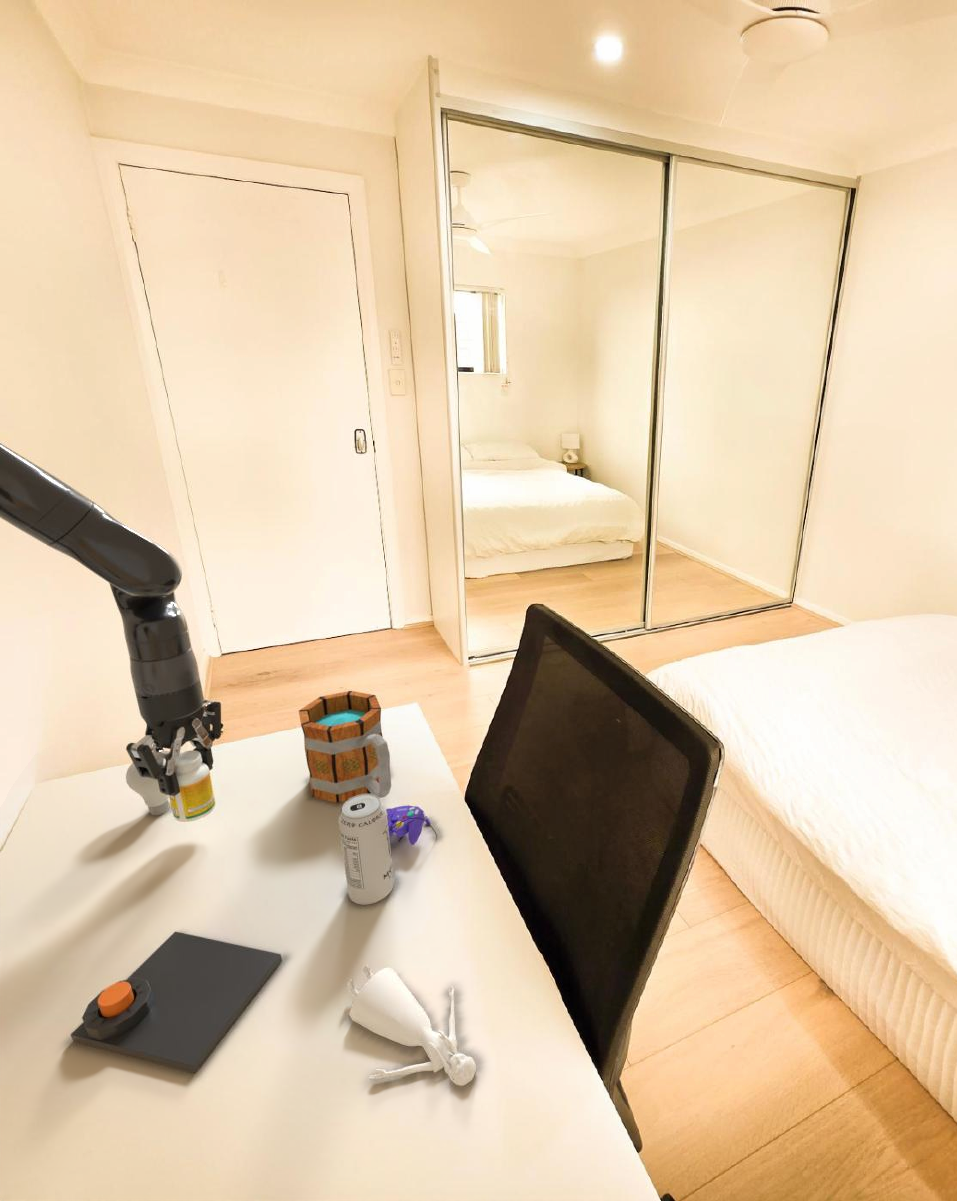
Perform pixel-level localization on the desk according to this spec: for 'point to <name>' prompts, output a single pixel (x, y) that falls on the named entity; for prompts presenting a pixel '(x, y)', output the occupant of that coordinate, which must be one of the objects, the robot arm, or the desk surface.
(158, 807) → the lightbulb
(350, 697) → the mug
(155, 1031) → the scale
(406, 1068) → the woman figurine
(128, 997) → the button
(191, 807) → the supplement bottle
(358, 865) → the energy drink can
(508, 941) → the desk surface
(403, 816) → the game controller
